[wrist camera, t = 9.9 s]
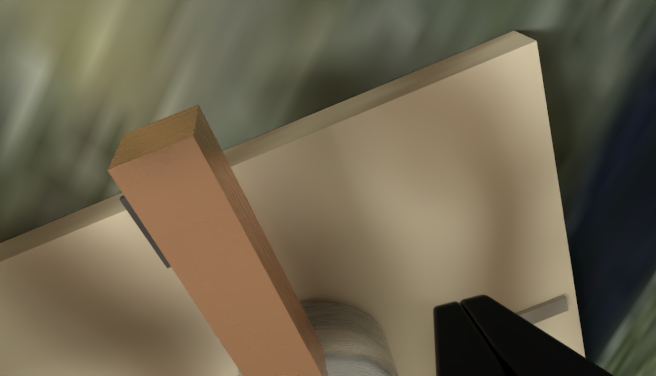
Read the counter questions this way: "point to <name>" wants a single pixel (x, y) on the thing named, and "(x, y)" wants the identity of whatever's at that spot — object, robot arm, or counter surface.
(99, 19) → the counter surface
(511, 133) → the coupling base
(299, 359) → the handle
